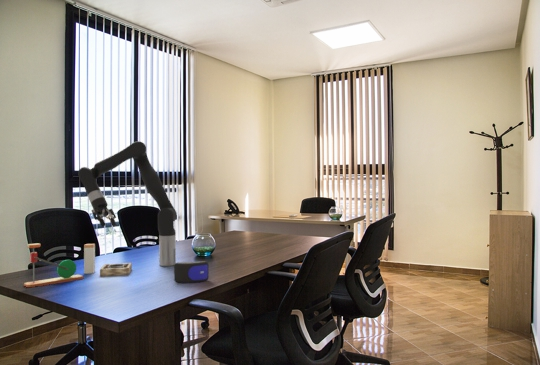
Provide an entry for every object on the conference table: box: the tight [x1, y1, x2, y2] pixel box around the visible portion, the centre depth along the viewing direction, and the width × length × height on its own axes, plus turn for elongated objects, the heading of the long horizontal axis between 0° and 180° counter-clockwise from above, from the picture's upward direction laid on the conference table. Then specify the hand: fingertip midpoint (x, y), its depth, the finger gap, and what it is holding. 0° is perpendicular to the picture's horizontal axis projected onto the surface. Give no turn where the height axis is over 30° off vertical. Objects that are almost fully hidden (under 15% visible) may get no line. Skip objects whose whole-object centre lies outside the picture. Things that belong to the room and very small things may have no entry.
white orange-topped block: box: [83, 243, 96, 274], centre depth 216 cm, size 4×4×15 cm
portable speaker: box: [173, 260, 210, 284], centre depth 193 cm, size 16×5×9 cm, turn 103°
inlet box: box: [99, 262, 133, 277], centre depth 215 cm, size 14×14×4 cm
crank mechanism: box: [23, 242, 84, 288], centre depth 195 cm, size 25×7×19 cm, turn 136°
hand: (109, 225), depth 218 cm, fingers open, 8 cm apart
